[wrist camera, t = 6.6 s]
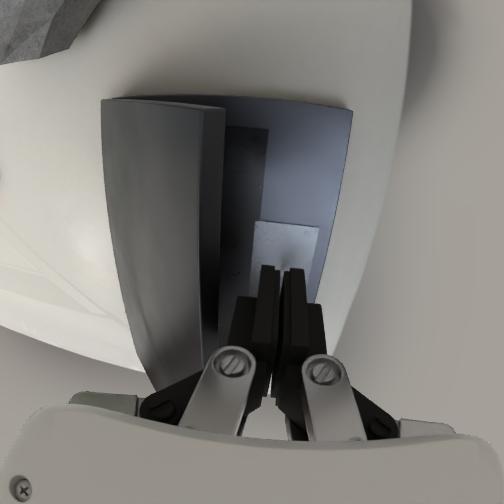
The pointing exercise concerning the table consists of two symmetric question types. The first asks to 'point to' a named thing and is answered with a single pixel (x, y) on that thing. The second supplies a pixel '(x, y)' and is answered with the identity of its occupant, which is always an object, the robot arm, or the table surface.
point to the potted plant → (40, 27)
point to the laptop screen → (166, 227)
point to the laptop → (274, 190)
